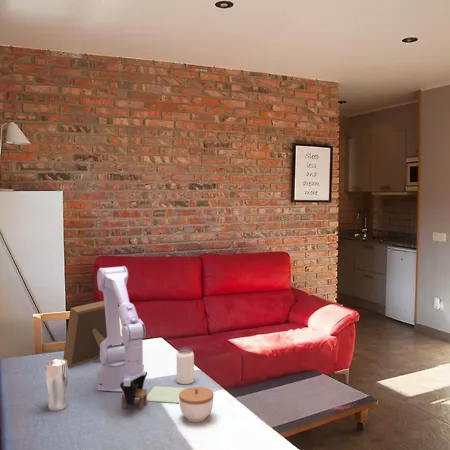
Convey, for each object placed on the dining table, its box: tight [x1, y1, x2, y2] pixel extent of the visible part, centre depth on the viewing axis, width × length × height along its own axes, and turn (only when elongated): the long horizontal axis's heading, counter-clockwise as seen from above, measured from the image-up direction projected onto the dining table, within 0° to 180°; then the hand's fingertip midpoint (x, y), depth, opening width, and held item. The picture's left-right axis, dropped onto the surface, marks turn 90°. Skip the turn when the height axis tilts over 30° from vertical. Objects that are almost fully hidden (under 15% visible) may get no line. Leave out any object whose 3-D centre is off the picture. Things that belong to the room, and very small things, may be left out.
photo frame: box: [62, 300, 120, 369], centre depth 197 cm, size 15×22×25 cm
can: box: [176, 347, 195, 385], centre depth 177 cm, size 6×6×12 cm
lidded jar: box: [179, 386, 214, 423], centre depth 148 cm, size 11×11×9 cm
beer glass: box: [45, 358, 69, 412], centre depth 155 cm, size 7×7×15 cm
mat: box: [147, 385, 187, 405], centre depth 165 cm, size 12×12×1 cm
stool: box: [121, 388, 148, 411], centre depth 156 cm, size 7×5×5 cm, turn 82°
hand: (134, 399), depth 156 cm, fingers open, 7 cm apart
